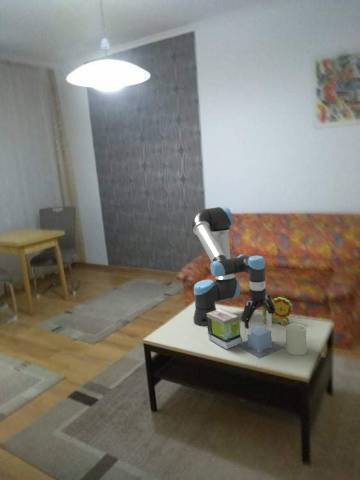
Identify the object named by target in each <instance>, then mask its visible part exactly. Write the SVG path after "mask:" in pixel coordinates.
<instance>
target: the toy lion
mask: <svg viewBox="0 0 360 480" xmlns="http://www.w3.org/2000/svg"><path fill="white" fill-rule="evenodd" d="M271 301H272V303H273V305H274V307H275V311H274V313H273V314H272V322H273V321H274V322H279V323H280V324H281V325H282V327H286V326H287V325H288V324H289V320H290V317H289V316H290V315H291V313H292V312H293V304H292V302H291V301H290V300H289V299H287V298H286V297H283V296H282V297H281V296H278V297H275V298H274V299H273V300H271ZM266 304H267V303H266ZM267 306H268V304H267ZM268 307H269V306H268ZM266 312H267V310H266V309H265V308H264V307H263V309H262V316H263V317H262V322H263V324H265V325H267V317H266Z"/></svg>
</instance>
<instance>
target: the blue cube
mask: <svg viewBox="0 0 360 480" xmlns="http://www.w3.org/2000/svg"><path fill="white" fill-rule="evenodd" d="M272 339H273V338H272V330H270V329H268V328H267V327H264V326H263V325H257V326H255V327H251V335H249V334H247V340H248V345H249V346H250V347H252V348H254V349H256V350H258V351H262V350H264V349H267V348H269V347H271V346H272V341H273V340H272Z"/></svg>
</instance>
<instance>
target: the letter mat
mask: <svg viewBox="0 0 360 480" xmlns="http://www.w3.org/2000/svg"><path fill="white" fill-rule="evenodd" d="M236 346H237V347H238V348H241V349H242V350H244V351H246V352H248V353H249V354H251V355H253V356H255V357H256V358H258V359H261V358H264V357H266V356H268V355H270V354H272V353H273V352H276V351H278V350H281V349H282V348H285V347H284V345H282V344H280V343H278V342H275V341H274V340H272V346H271V347H269V348H267V349H264V350H262V351H258V350H256V349H254V348H252V347H250V346H249V345H248V339H247V340H246V341H243V342H241V343H240V344H238V345H236Z"/></svg>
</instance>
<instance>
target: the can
mask: <svg viewBox="0 0 360 480" xmlns="http://www.w3.org/2000/svg"><path fill="white" fill-rule="evenodd" d="M285 339H286V340H285V341H286V342H285V343H286V345H285V346H286V348H285V350H286V352H287V353H288V354H289V355H293V356H302V355H305V354H306V353H307V352H308V351H307V350H308V348H307V327H306V326H305V325H304V324H302V323H296V322H293V323H288V324H287V325H286V326H285Z"/></svg>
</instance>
